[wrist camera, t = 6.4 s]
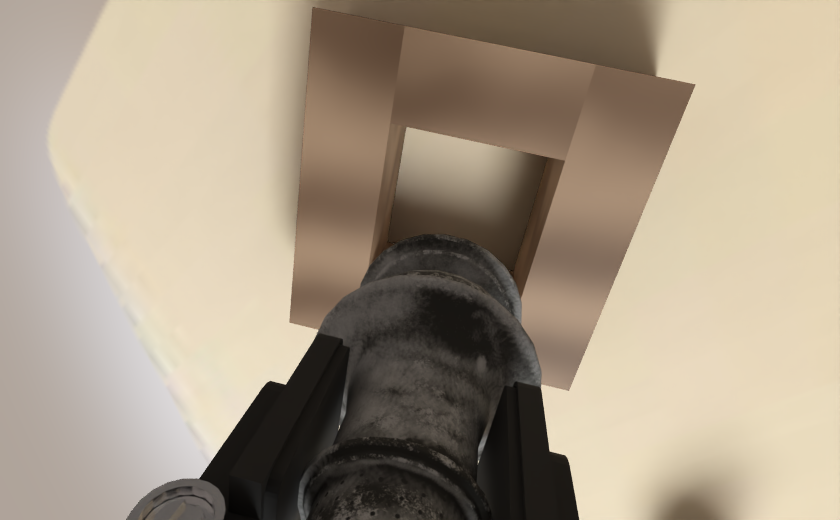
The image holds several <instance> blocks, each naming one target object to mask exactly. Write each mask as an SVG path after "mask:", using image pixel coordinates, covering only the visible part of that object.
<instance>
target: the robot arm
mask: <svg viewBox="0 0 840 520" xmlns="http://www.w3.org/2000/svg"><path fill="white" fill-rule="evenodd" d="M349 353H350V347H348V346H344V345H343V339H342V338H338V337H334V336H330V335H325V334H321V333H319V334H318V335H317V336H316V338H315V340H314V341H313V343H312V344H311V346H310V347H309V349H308V351H307V352H306V354H305V355H304V357H303V359H302V360H301V362H300V363H299V365H298V366H297V368H296V370H295V371H294V373H293V374H292V376H291V377H290V379H289V381H288V382H287V384H286V385H284V384H280V383H276V382H272V381H269V382H268V383H266V384H265V386H264V387H263V388H262V389H261V391H260V392H259V394H258V395H257V397H256V398H255V400H254V401H253V402H252V404H251V405H250V407H249V408H248V410H247V411H246V412H245V414H244V415H243V417H242V418H241V420H240V421H239V422H238V424H237V425H236V427H235V428H234V430H233V431H232V433H231V434H230V435H229V437H228V438H227V440H226V441H225V443H224V444H223V445H222V447H221V448H220V450H219V451H218V453H217V454H216V455H215V457H214V458H213V460H212V461H211V463H210V464H209V466H208V467H207V468H206V470H205V472H204V473H203V474H202V476H201V477H200V478H199V479H180V480H176V481H172V482H168V483H166V484H164V485H162V486H160V487H158V488H156V489H154V490H152V491H151V492H150V493H148V494H147V495H146V496H145V497H144V498H142V499H141V500H140V501H139V502H138V504H137V505H136V506H135V507H134V509H133V510H132V511H131V513H130V514H129V516H128V517H127V519H126V520H301V517H300V513H299V509H298V495H299V485H300V480H301V476H302V474H303V472H304V470H305V468H306V467H307V465H308V463H309V462H310V461H311V460H312V459H313V458H314V457H316V456H317V455H318V454H319V453H320V452H321V451H322V450H324V449H326V448H328V447H330V446H332V445H333V443H334V440H335V438H336V436H337V433H338V429H339V422H340V415H341V408H342V401H343V395H344V388H345V381H346V374H347V367H348V360H349ZM477 484H478V486H479V487H480V488H481V490H482V491H483V492H484V494H485V496H486V499H487V501H488V504H489V507H490V509H491V512H492V520H579V516H578V510H577V505H576V499H575V493H574V488H573V482H572V477H571V471H570V465H569V462H568V459H567V457H566V456H565V455H561V454H557V453H553V452H549V444H548V437H547V429H546V422H545V414H544V407H543V399H542V392H541V388H540V387H538V386H534V385H530V384H526V383H522V382H518V381H516V382H514V384H513V387H511V386H507V385H505V386H504V388H503V391H502V394H501V397H500V400H499V403H498V406H497V409H496V412H495V415H494V418H493V421H492V424H491V427H490V430H489V433H488V436H487V439H486V442H485V445H484V448H483V451H482V454H481V457H480V460H479V463H478V468H477Z"/></svg>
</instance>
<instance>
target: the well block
mask: <svg viewBox="0 0 840 520" xmlns="http://www.w3.org/2000/svg"><path fill="white" fill-rule="evenodd" d="M694 87H695V84H690V83H686V82H681V81H676V80H671V79H666V78H661V77H656V76H651V75H646V74H641V73H636V72H631V71H626V70H621V69H616V68H611V67H606V66H601V65H597V64H592V63H587V62H582V61H577V60H572V59H567V58H562V57H557V56H552V55H547V54H542V53H537V52H532V51H527V50H522V49H517V48H513V47H508V46H503V45H498V44H493V43H488V42H483V41H478V40H473V39H468V38H463V37H458V36H453V35H448V34H443V33H438V32H433V31H428V30H424V29H419V28H414V27H409V26H404V25H399V24H394V23H389V22H384V21H379V20H374V19H369V18H364V17H359V16H354V15H349V14H344V13H339V12H335V11H330V10H325V9H320V8H315V7H313V9H312V23H311V36H310V50H309V63H308V77H307V91H306V104H305V118H304V132H303V145H302V159H301V173H300V186H299V200H298V214H297V227H296V241H295V254H294V268H293V282H292V295H291V309H290V323H294V324H298V325H302V326H306V327H310V328H314V329H318V330H319V328H320V326H321V324H322V322H323V320H324V318H325V316H326V315H327V314H328V313H329V312H330V311H331V310H332V309H333V308H334V307H335V306H336V305H337V303H338V302H339V301H340V300H341V299H342V298H343V297H344V296H346V295H348V294H350V293H351V292H353V291H355V290H357V289H358V288H360V284H361V282H362V280H363V278H364V276H365V274H366V272H367V270H368V268H369V266H370V265H371V264H372V262H373V261H374V260H375V259H376V258H377V257H378V256H379V255H380V254H381V253H382V252H383V251H384V250H386V249H388V248H389V247H391V246H393V245H394V244H393V243H388V242H387V239H388V233H389V227H390V221H391V215H392V209H393V203H394V197H395V191H396V185H397V179H398V173H399V167H400V161H401V155H402V149H403V143H404V137H405V131H406V127H410V128H415V129H420V130H424V131H429V132H434V133H438V134H443V135H448V136H452V137H457V138H462V139H466V140H471V141H475V142H480V143H485V144H489V145H494V146H499V147H503V148H508V149H513V150H517V151H522V152H527V153H531V154H536V155H540V156H545V157H548V159H547V162H546V165H545V169H544V172H543V175H542V178H541V182H540V185H539V188H538V192H537V195H536V198H535V201H534V205H533V208H532V211H531V215H530V218H529V221H528V225H527V228H526V231H525V234H524V238H523V241H522V244H521V248H520V251H519V254H518V258H517V261H516V264H515V267H514V271H510V270H508V271H509V273H510V274H511V276H512V278H513V279H514V281H515V282H516V285H517V288H518V292H519V295H520V299H521V302H522V318H521V325H522V327H523V328H524V330H525V331H526V333H527V334H528V336H529V337H530V339H531V340H532V342H533V344H534V346H535V350H536V353H537V357H538V360H539V364H540V367H541V371H542V377H541V384H543V385H547V386H551V387H555V388H559V389H564V390H568V391H569V389H570V387H571V384H572V382H573V380H574V377H575V375H576V372H577V370H578V368H579V365H580V363H581V360H582V358H583V355H584V353H585V351H586V348H587V346H588V343H589V341H590V339H591V336H592V334H593V331H594V329H595V326H596V324H597V322H598V319H599V317H600V314H601V312H602V309H603V307H604V305H605V302H606V300H607V297H608V295H609V293H610V290H611V288H612V285H613V283H614V280H615V278H616V276H617V273H618V271H619V268H620V266H621V264H622V261H623V259H624V256H625V254H626V251H627V249H628V247H629V244H630V242H631V239H632V237H633V234H634V232H635V230H636V227H637V225H638V222H639V220H640V218H641V215H642V213H643V210H644V208H645V205H646V203H647V201H648V198H649V196H650V193H651V191H652V189H653V186H654V184H655V181H656V179H657V176H658V174H659V172H660V169H661V167H662V164H663V162H664V159H665V157H666V155H667V152H668V150H669V147H670V145H671V143H672V140H673V138H674V135H675V133H676V130H677V128H678V126H679V123H680V121H681V118H682V116H683V114H684V111H685V109H686V106H687V104H688V101H689V99H690V97H691V94H692V92H693V89H694Z"/></svg>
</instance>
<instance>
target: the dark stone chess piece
mask: <svg viewBox="0 0 840 520" xmlns="http://www.w3.org/2000/svg"><path fill="white" fill-rule="evenodd" d="M521 318H522V302H521V299H520V295H519V292H518V288H517V285H516V282H515V281H514V279H513V278H512V276H511V274H510V273H509V271H508V270H507V268H506V267H505V265H504V264H503V263H502V262H500V261H499V260H498V259H497V258H496V257H495V256H494V255H493V254H492V253H491V252H489V251H488V250H486V249H484V248H483V247H481V246H479V245H477V244H475V243H473V242H471V241H469V240H466V239H462V238H458V237H454V236H450V235H445V234H443V235H420V236H416V237H412V238H408V239H405V240H401V241H400V242H398V243H396V244H394V245H393V246H391V247H389V248H388V249H386V250H384V251H383V252H382V253H381V254H380V255H379V256H378V257H377V258H376V259H375V260H374V261H373V262H372V264H371V265H370V266H369V268H368V270H367V272H366V274H365V276H364V278H363V280H362V282H361V284H360V288H358V289H357V290H355V291H353V292H351V293H350V294H348V295H346V296H344V297H343V298H342V299H341V300H340V301H339V302H338V303H337V305H336V306H335V307H334V308H333V309H332V310H331V311H330V312H329V313H328V314H327V315H326V316H325V318H324V320H323V322H322V324H321V326H320V328H319V331H318V333H317V335H318V334H319V333H321V334H325V335H330V336H334V337H338V338H342V339H343V345H344V346H348V347H350V353H349V360H348V367H347V374H346V381H345V388H344V395H343V401H342V408H341V415H340V422H339V425H340V428H339V431H338V433H337V436H336V438H335V440H334V443H333V445H332V446H330V447H328V448H326V449H324V450H322V451H321V452H320V453H319V454H318V455H317V456H316V457H314V458H313V459H312V460H311V461H310V462H309V463H308V465H307V467H306V468H305V470H304V472H303V474H302V476H301V480H300V485H299V495H298V509H299V513H300V517H301V520H492V512H491V509H490V507H489V504H488V501H487V499H486V496H485V494H484V492H483V491H482V490H481V488H480V487H479V486H478V484H477V468H478V460H480V457H481V454H482V451H483V448H484V445H485V442H486V439H487V436H488V433H489V430H490V427H491V424H492V421H493V418H494V415H495V412H496V409H497V406H498V403H499V400H500V397H501V394H502V391H503V388H504V386H505V385H507V386H511V387H513V384H514V382H516V381H518V382H522V383H526V384H530V385H534V386H538V387H540V388H541V377H542V371H541V367H540V364H539V360H538V357H537V353H536V350H535V346H534V344H533V342H532V340H531V339H530V337H529V336H528V334H527V333H526V331H525V330H524V328H523V327H522V325H521ZM317 335H316V336H317ZM315 338H316V337H315ZM314 340H315V339H314Z"/></svg>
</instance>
